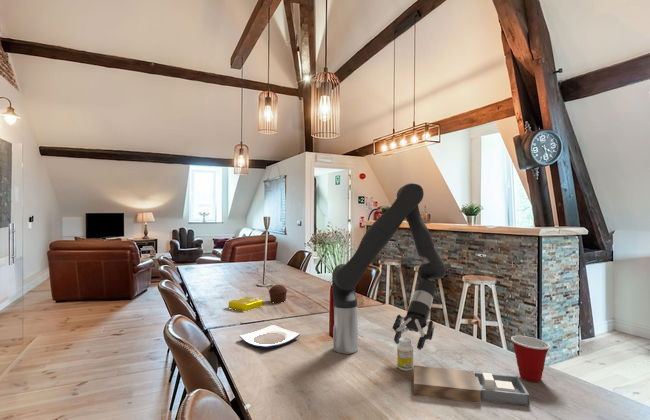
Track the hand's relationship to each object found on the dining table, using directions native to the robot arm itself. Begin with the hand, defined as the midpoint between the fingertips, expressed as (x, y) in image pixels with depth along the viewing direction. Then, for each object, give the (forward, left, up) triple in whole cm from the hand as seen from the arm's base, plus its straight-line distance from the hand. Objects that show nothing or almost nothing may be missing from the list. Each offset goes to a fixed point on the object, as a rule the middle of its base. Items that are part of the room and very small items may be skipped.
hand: (407, 345), depth 119 cm
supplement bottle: (-1, -1, -7) cm, 7 cm away
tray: (+27, -12, -7) cm, 30 cm away
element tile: (-93, +58, -8) cm, 110 cm away
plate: (-58, +13, -8) cm, 60 cm away
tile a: (+22, -14, -4) cm, 26 cm away
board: (+11, -13, -7) cm, 19 cm away
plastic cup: (+38, 0, -7) cm, 39 cm away
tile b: (+28, -14, -4) cm, 31 cm away
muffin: (-80, +74, -7) cm, 109 cm away
